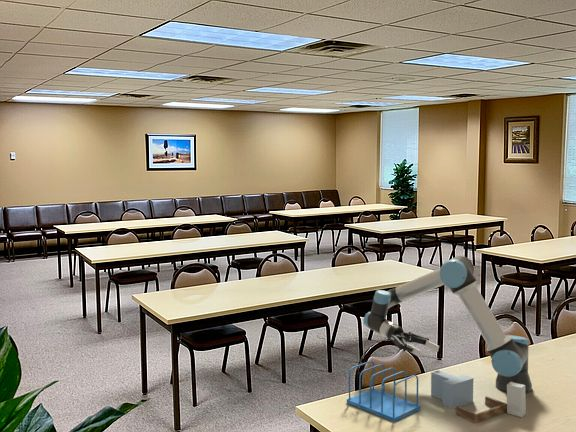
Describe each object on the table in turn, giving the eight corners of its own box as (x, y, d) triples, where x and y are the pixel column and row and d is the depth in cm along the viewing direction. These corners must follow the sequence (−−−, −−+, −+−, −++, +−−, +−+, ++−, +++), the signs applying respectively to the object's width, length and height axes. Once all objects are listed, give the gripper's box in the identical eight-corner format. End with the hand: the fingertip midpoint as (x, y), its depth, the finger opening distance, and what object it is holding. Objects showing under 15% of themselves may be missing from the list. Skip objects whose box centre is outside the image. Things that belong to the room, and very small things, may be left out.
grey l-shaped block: (445, 390, 256) (445, 368, 256) (473, 401, 244) (473, 378, 243) (424, 396, 249) (424, 374, 248) (452, 408, 237) (452, 384, 236)
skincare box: (525, 414, 231) (526, 384, 230) (521, 418, 227) (522, 387, 226) (510, 410, 235) (511, 380, 234) (506, 413, 231) (506, 384, 231)
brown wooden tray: (486, 403, 242) (486, 396, 242) (507, 411, 234) (507, 404, 233) (455, 414, 231) (456, 406, 231) (476, 423, 223) (476, 415, 223)
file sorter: (346, 403, 243) (346, 367, 242) (372, 392, 255) (373, 358, 254) (394, 422, 225) (394, 383, 223) (420, 409, 236) (421, 373, 235)
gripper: (406, 335, 278) (443, 355, 262) (372, 342, 262) (409, 363, 246) (410, 321, 277) (447, 339, 261) (376, 326, 260) (413, 347, 245)
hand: (429, 351), depth 254 cm, fingers open, 13 cm apart
